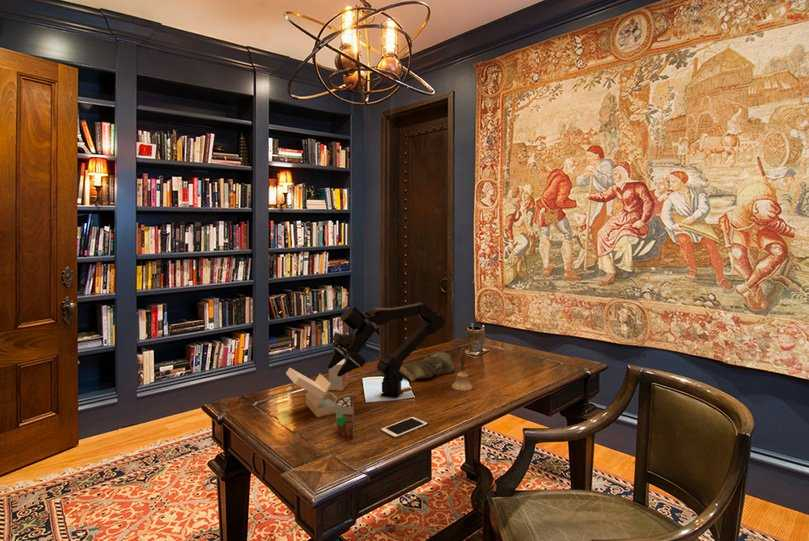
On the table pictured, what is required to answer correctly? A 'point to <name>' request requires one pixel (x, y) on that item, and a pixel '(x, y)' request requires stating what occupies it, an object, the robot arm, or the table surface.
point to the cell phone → (403, 427)
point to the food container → (345, 415)
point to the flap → (311, 386)
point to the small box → (336, 381)
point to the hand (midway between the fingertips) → (333, 372)
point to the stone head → (428, 367)
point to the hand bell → (462, 375)
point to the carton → (323, 405)
